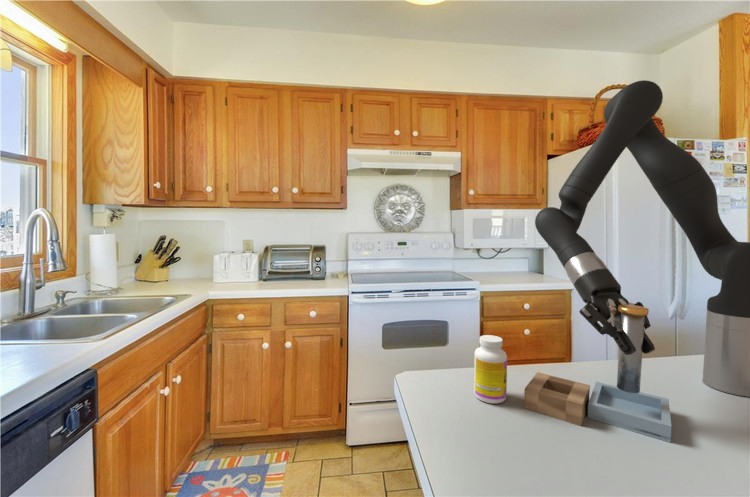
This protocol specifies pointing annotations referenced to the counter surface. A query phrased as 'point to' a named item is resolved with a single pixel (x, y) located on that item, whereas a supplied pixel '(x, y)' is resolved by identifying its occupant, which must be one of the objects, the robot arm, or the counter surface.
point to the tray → (631, 411)
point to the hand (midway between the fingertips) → (640, 352)
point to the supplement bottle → (490, 370)
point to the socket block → (557, 398)
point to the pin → (635, 331)
